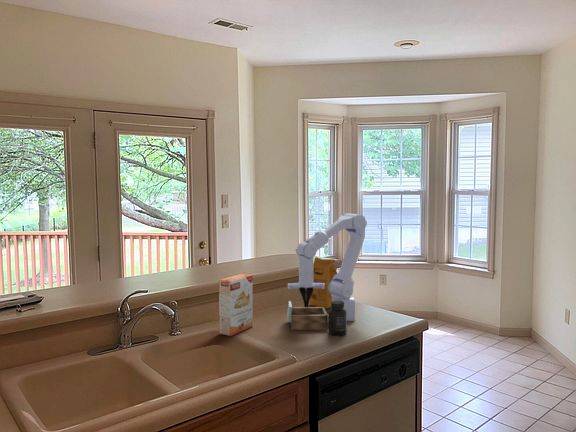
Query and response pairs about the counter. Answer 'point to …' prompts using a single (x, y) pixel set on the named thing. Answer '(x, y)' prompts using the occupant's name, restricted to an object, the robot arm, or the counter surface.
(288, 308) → the panel
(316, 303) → the coffee package
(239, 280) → the cracker box
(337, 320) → the supplement bottle
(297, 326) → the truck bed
